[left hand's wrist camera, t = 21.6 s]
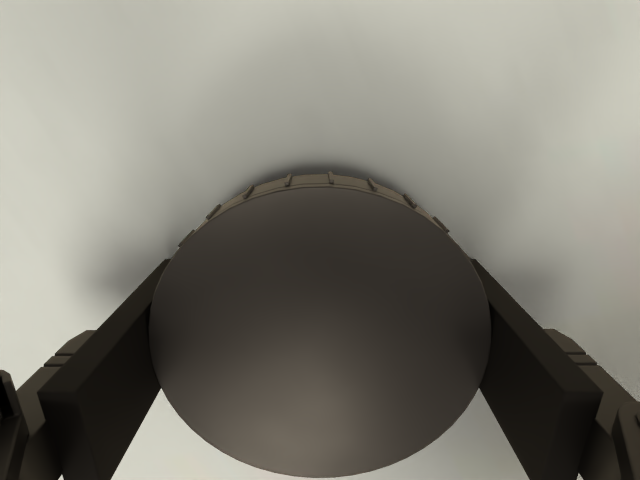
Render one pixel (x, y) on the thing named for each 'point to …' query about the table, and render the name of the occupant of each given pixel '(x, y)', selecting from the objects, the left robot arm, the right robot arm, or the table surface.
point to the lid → (319, 327)
